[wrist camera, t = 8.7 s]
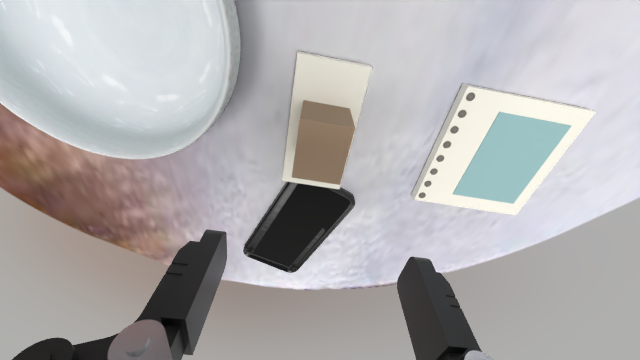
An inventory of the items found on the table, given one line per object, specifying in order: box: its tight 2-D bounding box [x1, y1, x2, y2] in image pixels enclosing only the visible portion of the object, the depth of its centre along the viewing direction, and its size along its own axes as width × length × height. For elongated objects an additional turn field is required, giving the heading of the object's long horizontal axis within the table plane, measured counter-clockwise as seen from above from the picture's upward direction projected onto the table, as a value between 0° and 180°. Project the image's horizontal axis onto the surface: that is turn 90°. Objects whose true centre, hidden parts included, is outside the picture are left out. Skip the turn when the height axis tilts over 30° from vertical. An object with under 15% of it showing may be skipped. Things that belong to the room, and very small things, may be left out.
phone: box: [243, 182, 355, 273], centre depth 31 cm, size 8×1×15 cm
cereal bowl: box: [0, 0, 241, 159], centre depth 17 cm, size 17×17×7 cm
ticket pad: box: [411, 84, 596, 215], centre depth 25 cm, size 12×12×1 cm
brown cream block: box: [282, 51, 372, 189], centre depth 22 cm, size 6×12×6 cm, turn 170°
